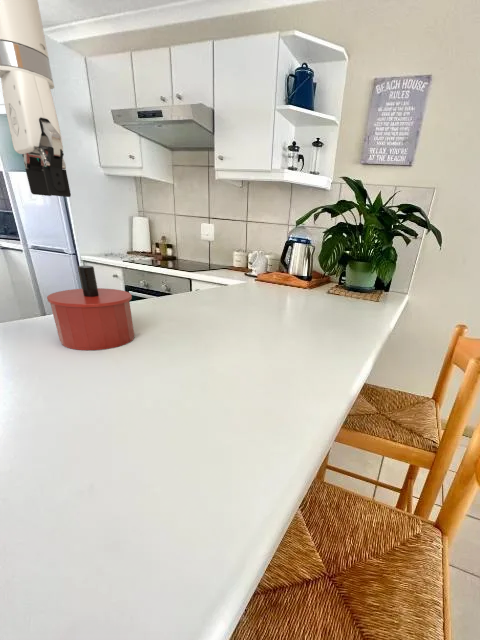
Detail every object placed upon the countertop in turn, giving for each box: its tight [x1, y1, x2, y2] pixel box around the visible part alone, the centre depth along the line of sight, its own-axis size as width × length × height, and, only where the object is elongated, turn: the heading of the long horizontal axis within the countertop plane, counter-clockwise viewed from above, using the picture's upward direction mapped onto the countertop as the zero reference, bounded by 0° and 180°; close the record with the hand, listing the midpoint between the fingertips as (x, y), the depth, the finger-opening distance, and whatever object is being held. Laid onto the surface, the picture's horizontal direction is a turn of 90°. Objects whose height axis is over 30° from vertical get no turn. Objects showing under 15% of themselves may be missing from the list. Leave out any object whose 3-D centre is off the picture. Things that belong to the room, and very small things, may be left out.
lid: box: [46, 265, 133, 307], centre depth 63 cm, size 15×15×7 cm
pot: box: [49, 301, 135, 351], centre depth 67 cm, size 14×14×8 cm
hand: (50, 195), depth 58 cm, fingers open, 9 cm apart
